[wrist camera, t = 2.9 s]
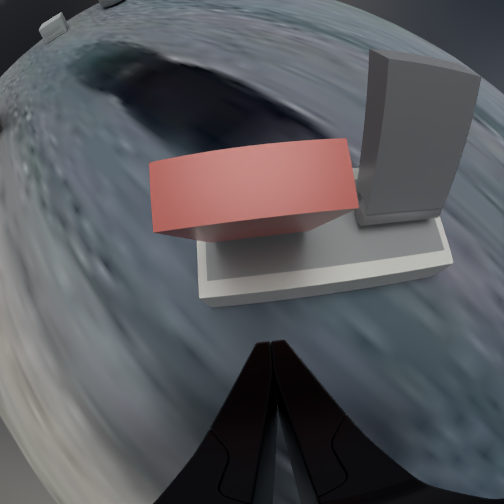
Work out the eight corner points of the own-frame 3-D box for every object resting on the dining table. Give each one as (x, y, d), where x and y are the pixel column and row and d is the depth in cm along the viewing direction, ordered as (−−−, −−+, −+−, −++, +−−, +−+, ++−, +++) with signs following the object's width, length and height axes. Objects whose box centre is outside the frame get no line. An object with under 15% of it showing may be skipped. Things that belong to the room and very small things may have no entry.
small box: (68, 25, 42) (61, 11, 37) (68, 31, 40) (60, 16, 35) (48, 38, 41) (40, 24, 37) (46, 45, 39) (38, 30, 35)
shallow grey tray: (431, 276, 18) (454, 262, 15) (211, 307, 18) (199, 298, 15) (405, 188, 20) (420, 165, 17) (206, 207, 21) (195, 184, 18)
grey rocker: (435, 224, 15) (481, 77, 8) (362, 232, 15) (389, 58, 8) (423, 204, 16) (458, 63, 9) (352, 210, 16) (369, 48, 9)
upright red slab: (305, 232, 16) (359, 207, 7) (214, 243, 16) (153, 232, 7) (301, 200, 16) (346, 138, 7) (210, 210, 16) (149, 162, 7)
